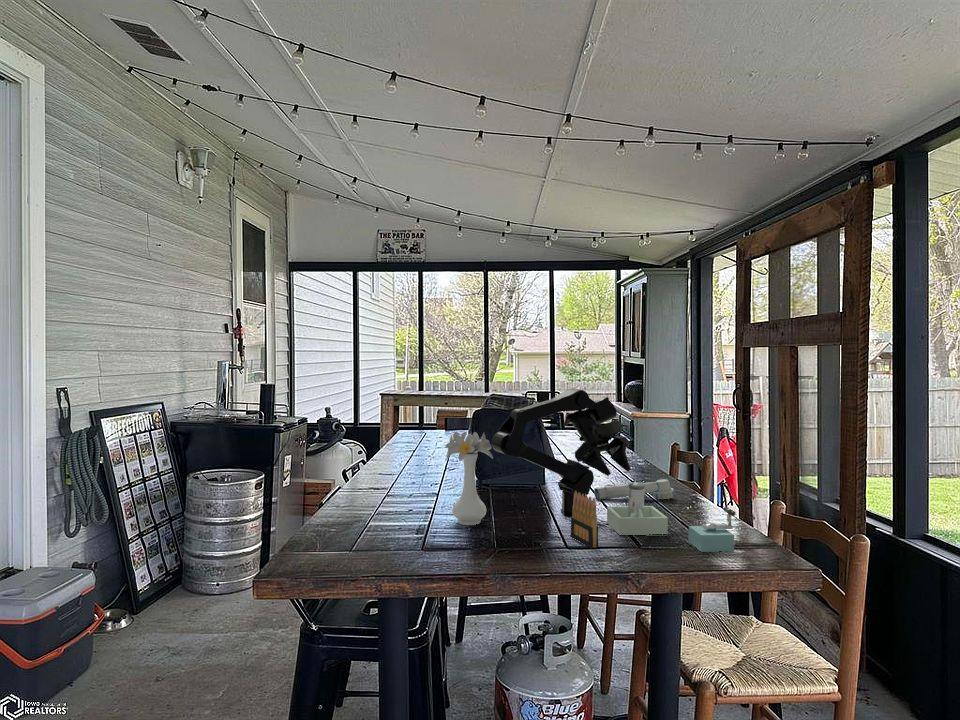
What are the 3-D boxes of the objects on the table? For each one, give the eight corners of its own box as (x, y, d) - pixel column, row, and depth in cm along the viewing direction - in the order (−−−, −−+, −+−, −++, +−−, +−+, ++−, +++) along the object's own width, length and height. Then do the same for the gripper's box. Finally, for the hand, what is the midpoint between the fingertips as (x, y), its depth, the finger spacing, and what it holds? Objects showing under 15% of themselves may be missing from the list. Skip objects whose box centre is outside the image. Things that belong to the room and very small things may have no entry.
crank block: (700, 552, 161) (701, 535, 160) (688, 542, 168) (688, 526, 168) (733, 551, 161) (734, 534, 161) (720, 541, 169) (720, 525, 169)
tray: (619, 535, 174) (619, 518, 174) (606, 522, 186) (607, 506, 186) (667, 535, 174) (667, 517, 174) (652, 522, 187) (652, 506, 187)
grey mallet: (592, 486, 217) (668, 474, 219) (595, 506, 217) (670, 494, 219) (597, 489, 212) (674, 477, 214) (599, 510, 212) (676, 498, 214)
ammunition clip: (598, 548, 163) (599, 498, 163) (591, 549, 163) (592, 499, 162) (576, 536, 173) (577, 489, 173) (570, 537, 173) (570, 490, 172)
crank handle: (707, 532, 162) (707, 511, 162) (698, 526, 167) (699, 506, 167) (736, 531, 162) (736, 511, 162) (727, 526, 168) (727, 506, 167)
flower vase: (483, 512, 197) (484, 426, 196) (498, 530, 178) (498, 435, 178) (439, 514, 194) (439, 427, 193) (449, 532, 176) (449, 436, 175)
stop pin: (630, 527, 178) (630, 485, 178) (626, 523, 182) (626, 482, 182) (646, 527, 178) (646, 485, 178) (641, 522, 183) (641, 482, 182)
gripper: (583, 412, 184) (616, 458, 177) (623, 408, 197) (656, 450, 189) (560, 438, 190) (592, 484, 182) (601, 432, 203) (632, 474, 195)
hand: (619, 472), depth 187 cm, fingers open, 9 cm apart
